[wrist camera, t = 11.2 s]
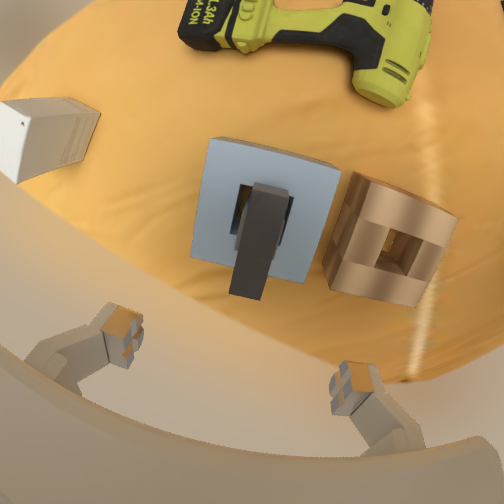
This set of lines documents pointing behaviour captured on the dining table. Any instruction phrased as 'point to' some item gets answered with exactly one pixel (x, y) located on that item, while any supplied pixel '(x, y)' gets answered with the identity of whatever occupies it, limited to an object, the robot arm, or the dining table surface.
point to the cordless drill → (325, 36)
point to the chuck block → (270, 173)
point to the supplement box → (43, 135)
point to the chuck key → (258, 239)
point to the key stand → (373, 238)
